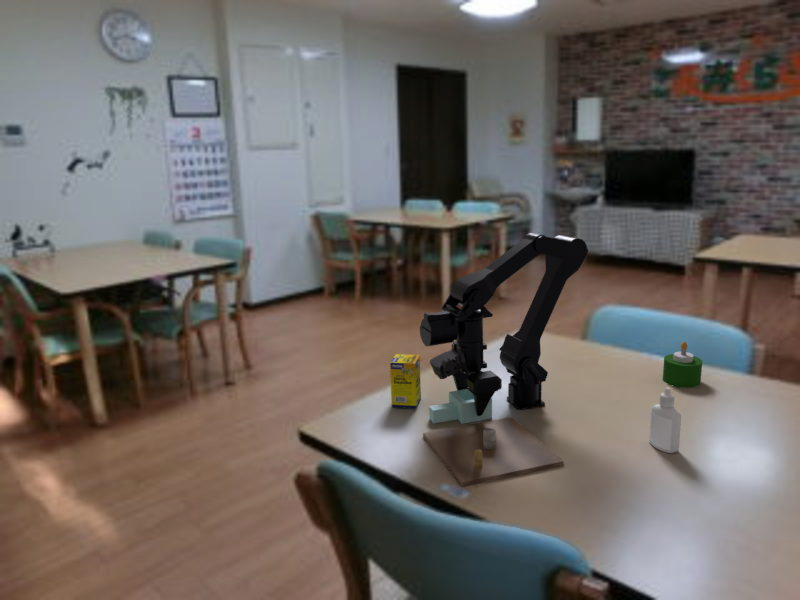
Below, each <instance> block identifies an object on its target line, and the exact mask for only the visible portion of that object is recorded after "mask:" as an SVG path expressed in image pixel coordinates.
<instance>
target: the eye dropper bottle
mask: <svg viewBox="0 0 800 600" xmlns="http://www.w3.org/2000/svg"><path fill="white" fill-rule="evenodd" d="M659 396H660V397H659V403H656V404H654V405H653V406H652V407H651V409H650V411H651V412H650V425H649V436H648V437H649V438H648V439H649V443H650V445H651V446H653V447H654V448H655V449H656V450H659V451H660V452H661V451H662V452H664V453H667V454H674V453H676V452H679V449H680V440H681V439H680V437H681V430H682V429H681V426H682V415H681V413H680V412H679V410H678V409H677V408H676V407H674V406H675V395H674V394H673V393H672V392H671V388H670V387H665V389H664V392H661V393H660V394H659Z"/></svg>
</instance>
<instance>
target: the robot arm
mask: <svg viewBox="0 0 800 600" xmlns="http://www.w3.org/2000/svg"><path fill="white" fill-rule="evenodd" d="M541 254H545V257H544V258H545V260H544V261H545V271H544V275H543V276H542V278H541V280H540V282H539V286H538V287H537V290H536V292H535V295H533V296H534V297H533V300H532V301H531V303H530V306H529V308H528V310H527V312H526V315H525V316H524V319H523V321H522V323H521V325H520V328H519V330H518V331H517V332H515V333H514V334H513V335H512V334H510V333H507V334H506V336H505V337H504V341H503V343H502V345H501V347H500V348H499V349H498V350H499V351H500V354H499V359H500V363H501V365H502V366H503V367H505V370H506V372H507V373H509V374H510V376H509V378H510V379H509V383H508V385H507V387H508V389H507V390H508V391H507V392H508V393H507V394H508V395H507V397H506V400H507V402H508V401H509V403H511V404H512V405H513V406H514V407H516V409H518V410H527V409H531V408H537V407H542V406H545V404H546V402H545V401H543V399H542V389H543V388H542V387H543V386H542V384H543V382H546V380H547V377H548V374H549V372H548V371H547V370H546V369H545V368H544V367H543V366H541V364H539V361H540V358H541V339H542V336H543V334H544V332H545V329H546V327H547V325H548V323H549V320H550V318H551V316H552V313H553V311H554V310H555V307H556V306H557V303H558V300H559V298H560V296H561V294H562V292H563V290H564V288H565V285H566V283H567V281H568V279H570V278H571V277H572V276H574V275H575V274H576V273H577V272H578V271H579V270H580V268H581V267H582V265H583V264H584V262H585V261H586V259H587V257H588V254H589V249H588V246H587V243H586V241H585V240H584V239H581V238H579V237H575V236H569V235H564V234H563V235H562V234H560V235H555V236H553V237H549V236H546V235H545V234H539V233H536V232H529V233H528V234H525V236H523V239H521V240H520V241H519V242H518V243H516V244H514V245H513V246H512V247H511V248H510V249H508V250H507V251H506V252H504V253H503V254H501V255H500V256H499V257H498V258H496V259H495V260H494V261H493V262H491V263H490V264H489V265H487V266H486V267H484V268H483V269H480V270H478V271H475V272H471V273H469V274H467V275H465V276H462V277H461V278H459V279H457V280H455V282H454V283H453V284H452V286H451V292H450V294H449V295H448V297H447V299H446V301H445V302H444V304H443V305H442V307H441V311H436V312H429V311H428V312H424V313H423V319H422V320H421V322H420V325H419V334H420V338H421V341H422V344H423V345H424V346H425V347H433V346H439V345H445V344H451V343H452V344H451V349H449V350H448V351H444V352H443V353H440V354H438V355H437V356H434V357H433V358H431V359H430V360H429V363H430V366H431V368H432V371H433V373H434V375H436V376H437V377H438V378H439V379H440V380H445V379H447V378H448V377H451V376H452V378H453V380H454V382H453V383H454V384H455V388H456V391H457V390H463V389H468V390H469V391H470V392H471V393H472V394H473V396H474V402H475V409H476V414H477V416H482V414H483V412H484V411H485V409H486V407H487V405H488V403H489V401H490V399H491V398H493V396H494V394H495V393H496V392H498V391H499V390H501V389H502V387H503V385H502V384H503V381H502V380H503V379H502V378H501V377H499V376H498V375H497V374H496V373H495V372H493V371H492V370H486V371H482V369H487V368H488V363H487V362H486V361H485V360H484V351H485V350H487V349H488V344H486V343H485V342H484V319H487V318H492V317H493V315H494V314H493V313H492V312H491V311H489V309H488V308H487V307H486V305H487V304H488V303H489V301H491V299H492V298H493V297H494V296H495V293H496V291H497V290H498V288H499V287H500V286H501V285H502V284H504V282H506V281H507V280H508V279H510V278H511V277H512V276H513V275H515V274H517V272H518V271H520V270H521V269H523V268H524V267H525V266H526V265H528V264H529V263H530V262H532V261H533V260H534V259H535V258H537V257H538V256H540V255H541ZM458 305H459V306H460V307H458Z"/></svg>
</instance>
